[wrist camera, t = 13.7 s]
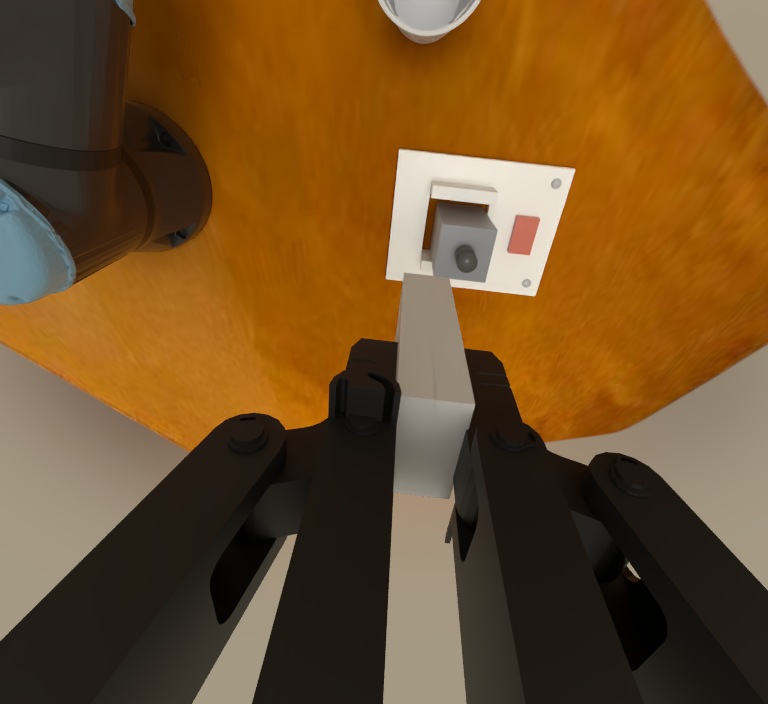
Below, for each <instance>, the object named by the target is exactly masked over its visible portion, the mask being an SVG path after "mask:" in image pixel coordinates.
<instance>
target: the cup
mask: <svg viewBox="0 0 768 704" xmlns="http://www.w3.org/2000/svg"><path fill="white" fill-rule="evenodd" d="M378 1H379V3H380V5H381V7H382V9H383V10H384V12H385V13H386V14H387V16H388V17H389V18H390V19H391V20H392V21H393V22H394V23H395V24H396V25H397V26H398V28H399V30H400V31H401V32H402V33H403V34H404V35H405V36H406V37H407V38H408V39H410V40H412V41H414V42H417V43H422V44H427V43H432V42H435V41H437V40H439V39H441V38H442V37H444V36H445V35H446V34H447V33H448V32H449V31H451V30H453V29H454V28H456V27H457V26H459V25H460V24H461V23H463V22H464V21H465V20H466V19H467V18H468V17H469V16H470V15H471V14H472V12H473V11H474V10H475V9H476V7H477V6H478V4H479V3H480V1H481V0H378Z"/></svg>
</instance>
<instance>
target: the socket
mask: <svg viewBox="0 0 768 704" xmlns="http://www.w3.org/2000/svg"><path fill="white" fill-rule="evenodd" d="M575 170H576V169H573V168H569V167H560V166H551V165H543V164H534V163H525V162H516V161H507V160H498V159H490V158H481V157H472V156H463V155H454V154H445V153H436V152H428V151H419V150H410V149H401V148H399V156H398V166H397V175H396V185H395V195H394V204H393V214H392V223H391V233H390V243H389V252H388V262H387V272H386V279H389V280H398V281H403V275H404V273H412V274H421V275H430V276H433V270H432V261H431V252H430V250H426V249H422V244H423V238H424V231H425V224H426V217H427V210H428V204H429V197H430V194H431V198H435V199H444V200H453V201H462V202H471V203H479V204H487V209H486V213H487V215H488V216H489V218H490V219H491V221H492V222H493V224H494V225H495V227H496V228H497V230H498V232H497V236H496V240H495V244H494V248H493V252H492V257H491V261H490V265H489V269H488V273H487V277H486V281H485V283H482V282H474V281H465V280H456V279H450V284H451V287H459V288H468V289H477V290H486V291H494V292H503V293H512V294H521V295H529V296H535V295H536V292H537V289H538V286H539V283H540V280H541V276H542V273H543V270H544V267H545V264H546V261H547V258H548V254H549V251H550V248H551V245H552V242H553V239H554V236H555V232H556V229H557V226H558V223H559V220H560V217H561V214H562V210H563V207H564V204H565V201H566V198H567V195H568V192H569V188H570V185H571V182H572V179H573V176H574V173H575Z"/></svg>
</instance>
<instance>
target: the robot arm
mask: <svg viewBox="0 0 768 704" xmlns="http://www.w3.org/2000/svg"><path fill="white" fill-rule="evenodd" d="M135 25H136V17H135V14H134V12H133V0H0V304H3V305H19V304H25V303H30V302H33V301H36V300H38V299H40V298H43V297H45V296H47V295H49V294H52V293H58V292H60V291H65V290H67V289H68V288H70V287H71V286H72V285H73V284H75V283H77V282H79V281H81V280H82V279H84V278H86V277H88V276H90V275H91V274H93V273H95V272H97V271H99V270H100V269H102V268H104V267H106V266H108V265H109V264H111V263H113V262H115V261H117V260H118V259H120V258H122V257H124V256H126V255H127V254H129V253H131V252H161V251H167V250H171V249H174V248H177V247H179V246H181V245H183V244H184V243H186V242H188V241H189V240H191V239H192V238H194V237H195V236H196V235H197V234H198V233H199V232H200V231H201V230H202V228H203V227H204V225H205V224H206V222H207V219H208V217H209V214H210V210H211V203H212V190H211V183H210V178H209V174H208V171H207V168H206V165H205V163H204V161H203V159H202V157H201V155H200V153H199V151H198V149H197V148H196V146H195V145H194V143H193V142H192V141H191V139H190V138H189V137H188V136H187V134H186V133H185V132H184V131H183V130H182V129H181V128H180V127H179V126H178V125H177V124H176V123H175V122H173V121H172V120H171V119H170V118H168V117H167V116H166V115H164V114H162V113H161V112H159V111H157V110H156V109H154V108H152V107H149V106H147V105H144V104H141V103H137V102H133V101H126V91H127V78H128V65H129V52H130V40H131V27H135ZM453 484H454V493H455V504H454V508H453V511H452V515H451V518H450V522H449V525H448V528H447V532H446V537H445V543H450V540H451V537H452V539H453V550H454V561H455V573H456V584H457V597H458V608H459V620H460V631H461V643H462V654H463V665H464V678H465V689H466V701H467V704H768V590H767V589H766V588H765V587H764V586H763V585H762V584H761V583H760V582H759V581H758V580H757V579H756V578H755V576H754V575H753V574H752V573H751V572H750V571H749V570H748V569H747V568H746V567H745V566H744V565H743V564H742V563H741V562H740V561H739V559H737V557H736V556H735V555H734V554H733V553H732V552H731V551H730V550H729V549H728V548H727V547H726V546H725V544H723V542H722V541H721V540H720V539H719V538H718V537H717V536H716V535H715V534H714V533H713V532H712V531H711V530H710V528H709V527H708V526H707V525H706V524H705V523H704V522H703V521H702V520H701V519H700V518H699V517H698V516H697V515H696V514H695V513H694V511H693V510H692V509H691V508H690V507H689V506H688V505H687V504H686V503H685V502H684V501H683V500H682V499H681V498H680V497H679V495H678V494H677V493H676V492H675V491H674V490H673V489H672V488H671V487H670V486H669V485H668V484H667V483H666V482H665V481H664V480H663V478H661V476H659V475H658V474H657V473H656V472H655V471H653V470H652V469H651V468H650V467H649V466H647V465H645V464H644V463H642V462H640V461H638V460H636V459H635V458H632V457H629V456H626V455H623V454H620V453H609V452H605V453H601V454H598V455H596V456H595V457H594V458H593V459H592V460H591V462H590V464H589V466H587V465H584V464H582V463H579V462H576V461H573V460H570V459H567V458H564V457H561V456H559V455H557V454H554V453H552V452H550V451H548V450H547V448H546V446H545V443H544V442H543V440H542V438H541V437H540V435H539V434H538V433H537V432H536V431H535V430H533V429H532V428H531V427H530V426H529V425H527V424H525V423H523V422H522V419H521V416H520V413H519V411H518V408H517V405H516V402H515V399H514V396H513V393H512V390H511V388H510V384H509V381H508V378H506V373H505V370H504V367H503V364H502V362H501V361H500V360H499V359H498V358H497V357H496V356H495V355H494V354H493V353H492V352H489V351H480V350H471V349H464V347H463V342H462V337H461V332H460V327H459V323H458V318H457V313H456V308H455V303H454V298H453V293H452V288H451V284H450V279H449V278H448V277H439V276H430V275H421V274H412V273H404V275H403V283H402V291H401V299H400V307H399V314H398V322H397V330H396V338H395V342H390V341H381V340H373V339H364V338H361V339H360V340H359V341H358V342H357V343H356V344H355V345H353V346H352V348H351V351H350V355H349V360H348V363H347V367H346V370H345V371H343V372H341V373H339V374H338V375H336V376H334V378H333V379H332V381H331V382H330V384H329V415H328V418H327V419H326V420H324V421H323V422H321V423H318V424H316V425H313V426H310V427H305V428H299V429H291V430H285V428H284V426H283V425H282V424H281V423H280V421H279V420H277V419H275V418H273V417H271V416H269V415H266V414H259V413H249V414H240V415H238V416H235V417H232V418H229V419H227V420H225V421H224V422H223V423H221V424H220V425H218V426H217V427H216V428H215V429H214V430H213V431H212V432H211V433H210V434H209V435H208V436H207V437H206V438H205V439H204V440H203V441H202V442H201V443H200V444H199V445H198V446H197V447H195V448H194V449H193V450H192V451H191V452H190V453H189V455H187V456H186V457H185V458H184V459H183V460H182V461H181V463H179V464H178V465H177V466H176V467H175V468H174V469H173V470H172V471H171V472H170V473H169V474H168V475H167V476H166V477H165V478H164V479H163V480H162V481H161V482H160V483H159V484H158V485H157V486H156V487H155V488H154V489H153V490H152V491H151V492H150V493H149V494H148V495H147V496H146V497H145V498H144V499H143V500H142V501H141V502H140V503H139V504H138V505H137V506H136V507H135V508H134V509H133V510H132V511H131V512H130V513H129V514H128V515H127V516H126V517H125V518H124V519H123V520H122V521H121V522H120V523H119V524H118V525H117V526H116V527H115V528H114V529H113V530H112V531H111V532H110V533H109V534H108V535H107V536H106V537H105V538H104V539H103V540H102V541H101V542H100V543H99V544H98V545H97V546H96V547H95V548H94V549H93V550H92V551H91V552H90V553H89V554H88V555H87V556H86V557H85V558H84V559H83V560H82V561H81V562H80V563H79V564H78V565H77V566H76V567H75V568H74V569H73V570H72V571H71V572H70V573H69V574H68V575H67V576H66V577H65V578H64V579H63V580H62V581H61V582H60V583H58V585H56V586H55V587H54V589H52V590H51V591H50V592H49V594H47V596H46V597H44V598H43V599H42V600H41V601H40V602H39V603H38V604H37V605H36V606H35V607H34V608H33V609H32V611H30V613H28V614H27V615H26V616H25V617H24V618H23V619H22V620H21V622H19V623H18V624H17V625H16V626H15V627H14V628H13V629H12V630H11V631H10V632H9V633H8V634H7V635H6V636H5V637H4V638H3V639H2V640H1V641H0V704H192V703H193V701H194V699H195V697H196V695H197V694H198V692H199V690H200V689H201V686H202V685H203V683H204V682H205V679H206V678H207V676H208V675H209V673H210V671H211V669H212V668H213V666H214V664H215V662H216V660H217V659H218V657H219V655H220V654H221V652H222V650H223V648H224V647H225V645H226V643H227V641H228V640H229V638H230V636H231V634H232V633H233V631H234V629H235V627H236V626H237V624H238V622H239V621H240V619H241V617H242V615H243V614H244V612H245V610H246V608H247V607H248V605H249V603H250V601H251V600H252V598H253V596H254V594H255V593H256V591H257V589H258V587H259V586H260V584H261V582H262V580H263V579H264V577H265V575H266V573H267V572H268V570H269V568H270V566H271V565H272V563H273V561H274V559H275V558H276V556H277V554H278V552H279V551H280V549H281V547H282V546H283V544H284V542H285V540H286V538H287V536H288V535H292V534H297V538H296V541H295V545H294V549H293V553H292V557H291V560H290V564H289V568H288V571H287V575H286V579H285V583H284V586H283V590H282V594H281V598H280V601H279V605H278V609H277V612H276V616H275V620H274V624H273V627H272V631H271V635H270V639H269V642H268V646H267V650H266V654H265V657H264V661H263V665H262V669H261V672H260V676H259V680H258V684H257V687H256V691H255V694H254V698H253V702H252V704H383V690H384V669H385V650H386V649H385V648H386V628H387V609H388V589H389V568H390V548H391V528H392V507H393V493H402V494H410V495H419V496H428V497H436V498H445V499H449V498H450V495H451V491H452V487H453ZM629 562H630V564H631V565H632V567H633V568H634V570H635V571H636V572H637V574H638V575H639V577H640V578H641V579H639V578H637V577H636V576H634V575H633V573H632V572H631V571H630V570H629V568H628V567H627V564H628V563H629Z"/></svg>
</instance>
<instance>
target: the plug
mask: <svg viewBox="0 0 768 704" xmlns="http://www.w3.org/2000/svg"><path fill="white" fill-rule="evenodd" d="M497 232H498V230H497V228H496V227H495V225H494V224H493V222H492V221H491V219H490V218H489V216H488V215H487V213H486V212H485V210H484V209H483V207H482V206H475V205H466V204H457V203H448V202H439V201H437V203H436V209H435V215H434V222H433V228H432V235H431V241H430V252H431V261H432V270H433V276H439V277H448V278H449V279H456V280H465V281H474V282H482V283H485V281H486V277H487V273H488V269H489V265H490V261H491V257H492V252H493V248H494V244H495V240H496V236H497Z"/></svg>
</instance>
